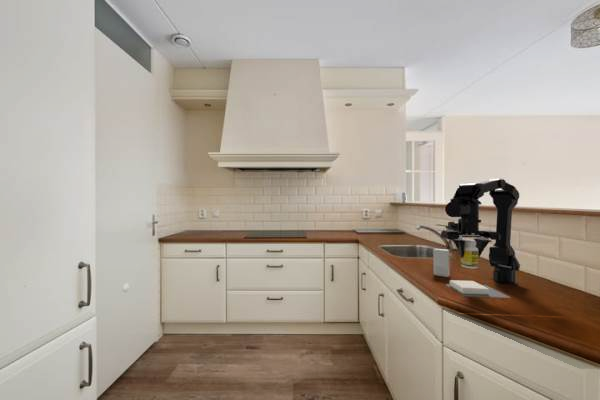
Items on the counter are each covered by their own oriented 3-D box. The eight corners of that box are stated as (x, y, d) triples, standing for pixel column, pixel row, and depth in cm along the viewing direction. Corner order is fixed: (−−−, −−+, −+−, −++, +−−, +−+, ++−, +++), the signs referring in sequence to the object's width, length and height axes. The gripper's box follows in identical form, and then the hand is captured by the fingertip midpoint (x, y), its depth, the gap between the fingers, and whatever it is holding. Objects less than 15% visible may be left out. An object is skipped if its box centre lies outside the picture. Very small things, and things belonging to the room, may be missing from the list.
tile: (473, 280, 99) (449, 280, 100) (488, 288, 90) (462, 288, 91) (473, 286, 99) (449, 285, 100) (488, 295, 90) (462, 294, 91)
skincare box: (449, 275, 115) (449, 249, 115) (448, 278, 111) (448, 250, 111) (434, 273, 119) (434, 247, 119) (432, 275, 115) (433, 249, 115)
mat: (486, 286, 101) (486, 285, 101) (511, 298, 88) (511, 297, 88) (445, 285, 102) (445, 284, 102) (463, 297, 89) (463, 296, 89)
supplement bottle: (473, 269, 91) (473, 242, 91) (458, 266, 96) (458, 240, 96) (481, 267, 94) (481, 241, 94) (466, 264, 99) (466, 239, 99)
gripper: (481, 215, 102) (481, 253, 102) (434, 215, 104) (434, 252, 104) (501, 217, 91) (501, 259, 91) (448, 217, 92) (448, 259, 92)
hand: (469, 257), depth 95 cm, fingers closed on supplement bottle, 5 cm apart
